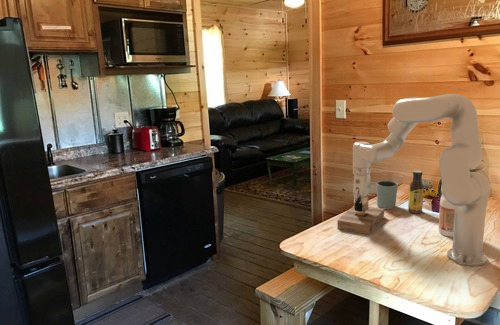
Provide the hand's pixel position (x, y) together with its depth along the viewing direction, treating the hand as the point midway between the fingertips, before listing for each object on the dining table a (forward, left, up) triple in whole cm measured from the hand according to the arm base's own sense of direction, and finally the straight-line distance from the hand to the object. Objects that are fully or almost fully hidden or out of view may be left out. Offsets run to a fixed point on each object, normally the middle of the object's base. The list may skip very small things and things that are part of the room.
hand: (361, 208), depth 179 cm
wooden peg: (0, 0, -4) cm, 4 cm away
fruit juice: (+5, -36, -7) cm, 37 cm away
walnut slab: (0, 0, -7) cm, 7 cm away
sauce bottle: (+24, -18, -7) cm, 31 cm away
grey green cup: (+26, -4, -7) cm, 27 cm away
